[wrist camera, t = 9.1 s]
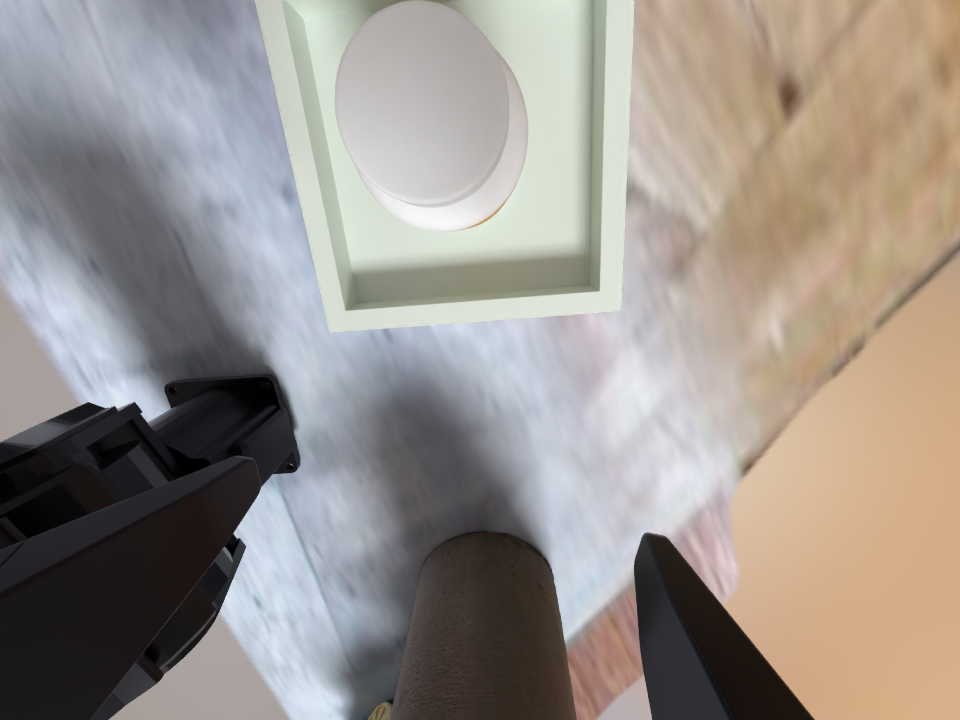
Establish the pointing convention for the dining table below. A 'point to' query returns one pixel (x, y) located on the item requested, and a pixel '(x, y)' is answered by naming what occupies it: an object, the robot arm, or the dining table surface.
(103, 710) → the robot arm
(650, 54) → the dining table surface
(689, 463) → the dining table surface
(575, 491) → the dining table surface
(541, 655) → the pillar candle
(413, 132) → the supplement bottle
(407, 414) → the dining table surface
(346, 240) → the tray
